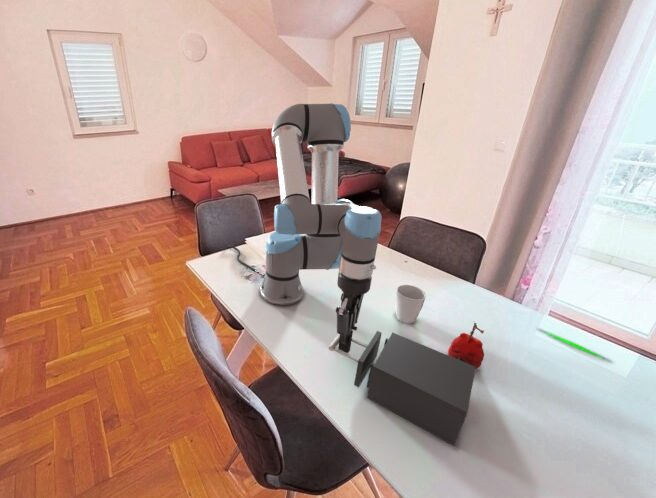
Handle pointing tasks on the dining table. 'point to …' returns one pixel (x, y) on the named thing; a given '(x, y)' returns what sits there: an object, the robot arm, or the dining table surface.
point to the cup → (409, 302)
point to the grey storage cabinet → (422, 386)
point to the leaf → (574, 345)
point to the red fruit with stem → (467, 348)
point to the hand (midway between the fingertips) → (344, 349)
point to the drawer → (362, 357)
